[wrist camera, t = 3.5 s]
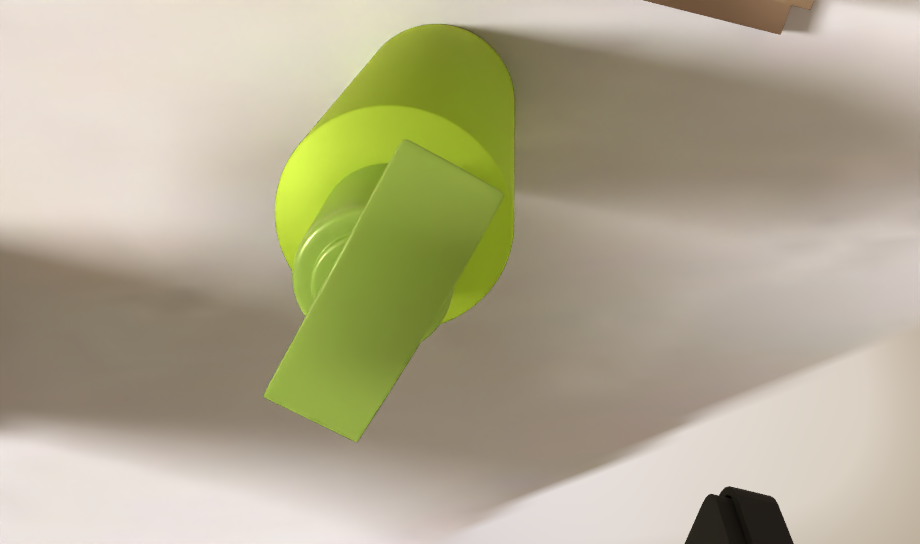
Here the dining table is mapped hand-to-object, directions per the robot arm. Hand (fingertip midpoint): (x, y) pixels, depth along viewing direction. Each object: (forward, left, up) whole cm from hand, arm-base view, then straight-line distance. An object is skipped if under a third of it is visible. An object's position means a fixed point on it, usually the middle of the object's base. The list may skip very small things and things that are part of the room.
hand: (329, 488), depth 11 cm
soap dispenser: (0, 0, -24) cm, 24 cm away
